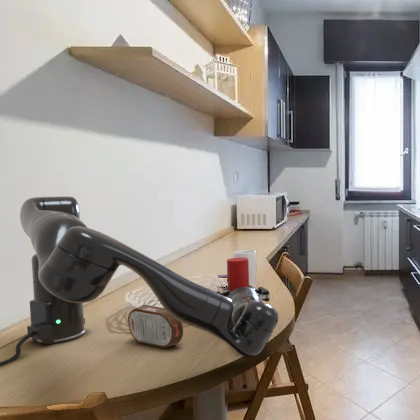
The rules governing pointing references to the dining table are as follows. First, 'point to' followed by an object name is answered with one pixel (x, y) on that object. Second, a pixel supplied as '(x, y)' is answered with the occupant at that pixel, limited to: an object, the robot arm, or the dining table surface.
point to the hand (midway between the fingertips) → (238, 290)
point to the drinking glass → (249, 263)
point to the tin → (154, 326)
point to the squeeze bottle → (237, 273)
